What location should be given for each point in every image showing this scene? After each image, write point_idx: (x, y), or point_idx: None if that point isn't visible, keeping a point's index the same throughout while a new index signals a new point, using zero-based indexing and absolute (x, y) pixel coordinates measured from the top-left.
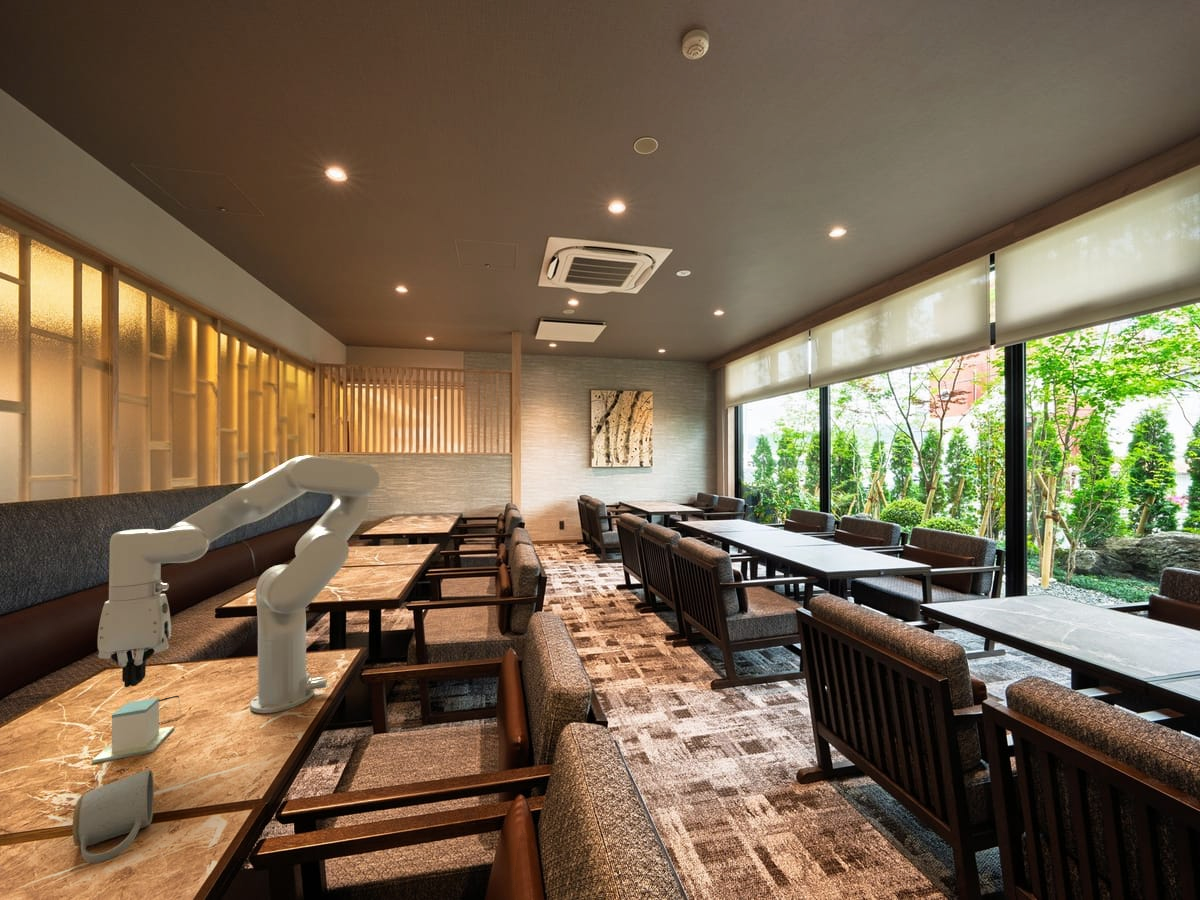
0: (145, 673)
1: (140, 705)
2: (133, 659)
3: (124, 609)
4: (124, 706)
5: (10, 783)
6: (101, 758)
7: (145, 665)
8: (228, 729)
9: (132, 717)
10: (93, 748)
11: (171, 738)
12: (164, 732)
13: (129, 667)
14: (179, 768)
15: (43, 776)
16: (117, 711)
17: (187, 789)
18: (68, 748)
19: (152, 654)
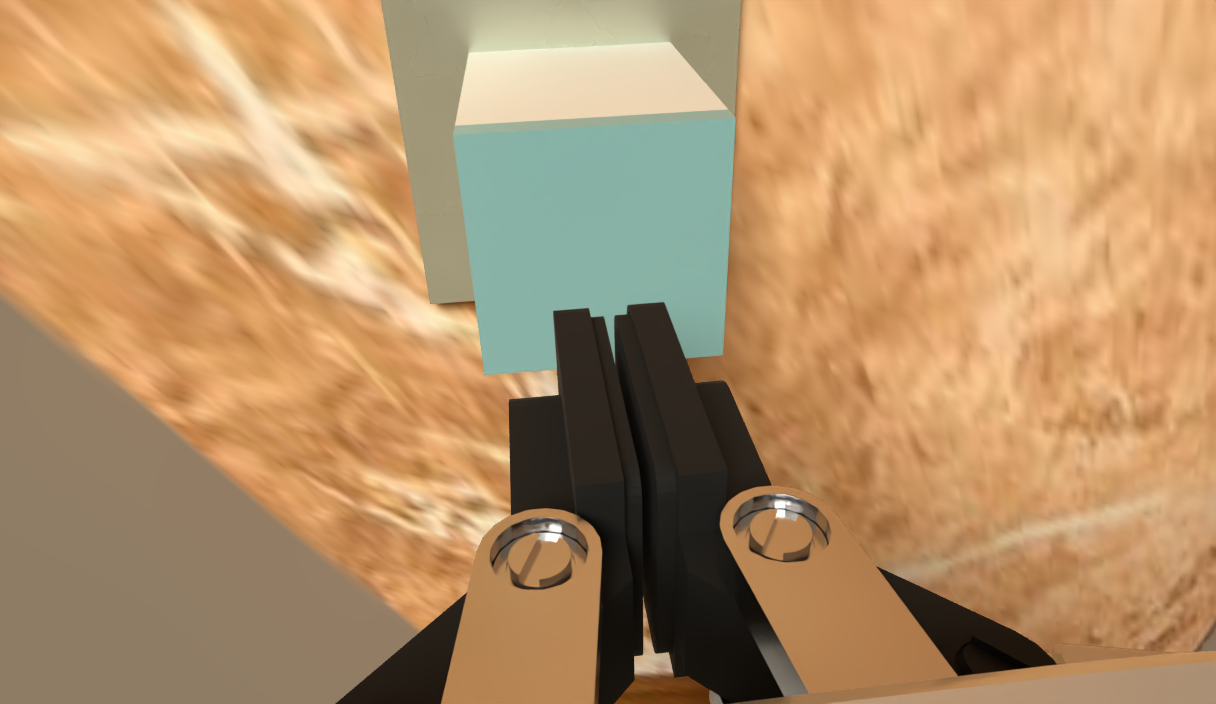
0: (730, 391)
1: (634, 254)
2: (621, 597)
3: None
4: (488, 230)
5: (107, 371)
6: (474, 298)
7: (764, 473)
8: (1091, 117)
9: None
10: (282, 82)
11: (768, 119)
12: (710, 58)
13: (635, 651)
14: (903, 458)
15: (243, 351)
16: (488, 318)
17: (963, 591)
18: (61, 8)
19: (941, 615)
